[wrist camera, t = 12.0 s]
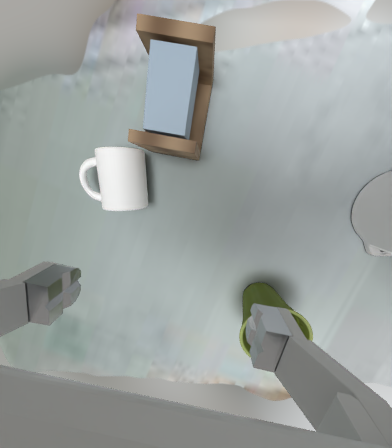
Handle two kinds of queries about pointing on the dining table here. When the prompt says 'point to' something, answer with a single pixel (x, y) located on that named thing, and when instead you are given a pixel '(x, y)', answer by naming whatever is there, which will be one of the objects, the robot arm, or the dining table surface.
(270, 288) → the plant pot
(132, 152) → the mug
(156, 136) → the stand
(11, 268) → the dining table surface
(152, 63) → the light blue block
